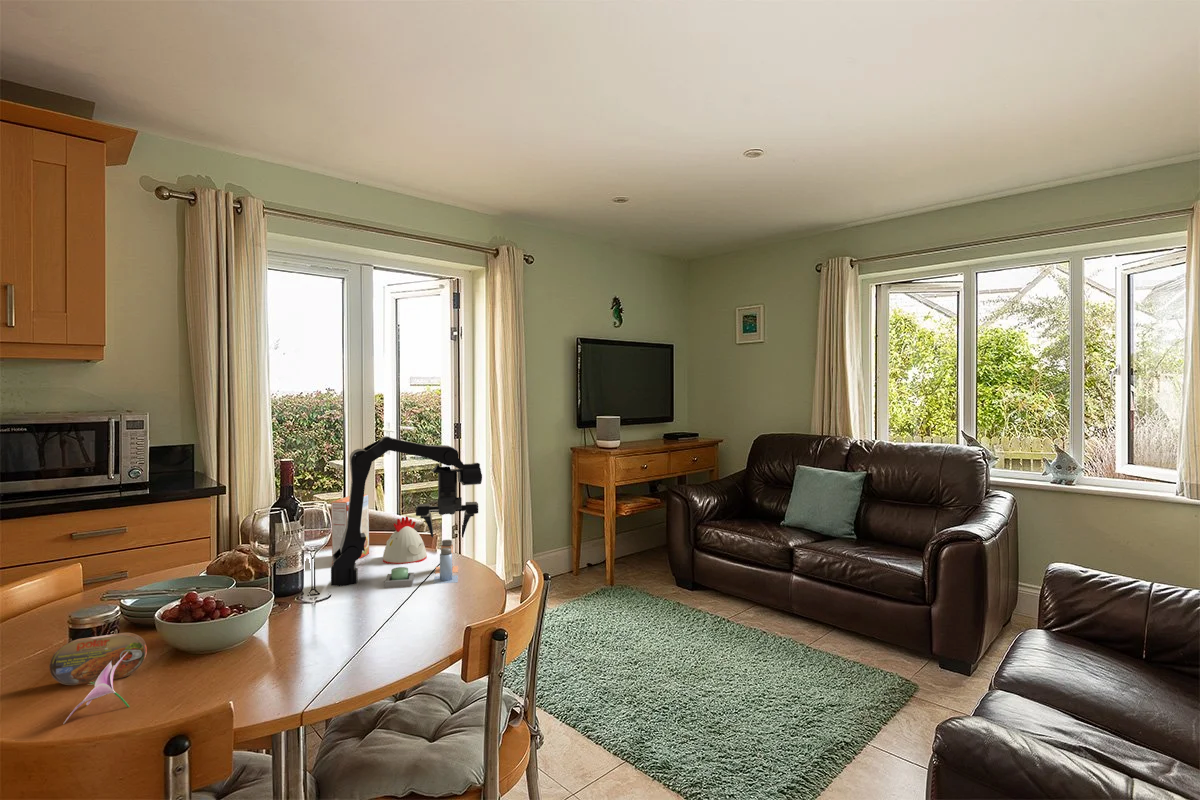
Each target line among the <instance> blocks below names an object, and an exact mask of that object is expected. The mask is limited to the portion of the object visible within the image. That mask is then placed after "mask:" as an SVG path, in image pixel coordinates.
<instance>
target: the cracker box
mask: <svg viewBox="0 0 1200 800" xmlns="http://www.w3.org/2000/svg"><path fill="white" fill-rule="evenodd" d="M349 499H350V495H349V496H345V497H342V498H339V499H336V500H333V501H331V502H330V503H331V504H330V505H331V506H330V507H331V511H330V512H331V556H332V555H333V554H334V553H335V552H336V551H337V550H338V549H339V548H340V544H341V541H342V537H343V534H344V532H345V529H346V526H347V517H348V508H349ZM369 511H370V510H369V494H364V499H363V508H362V517H361V527H360V531H361V533H364V534H365V536H366V540H365V544H364V549H365V551H363V550H362V555H361V557H360V558H359V559H361V558H364V557H365V556H367V555H368V554H370V527H369V526H370V521H369V519H370V517H369ZM359 559H358V560H359ZM331 563H332V565H333V559H332V558H331Z"/></svg>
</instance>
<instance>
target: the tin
mask: <svg viewBox="0 0 1200 800" xmlns="http://www.w3.org/2000/svg"><path fill="white" fill-rule="evenodd" d="M146 643H147V642H146V641H145V640H144V638H143V637H141V636H140V635H138V634H137V633H132V632H119V633H113V634H106V635H99V636H91V637H84V638H82V637H81V638H77V639H74V640H71V641H70V642H68V643H66V644H65V645H63V646H60V648H59V649H57V650H56V651H55V652H54V654H53V655H52V657H51V658H50V662H49V673H50V676H52V677H51V678H53V680H55V681H56V682H58V683H59V684H62V685H66V686H77V685H84V684H90V683H89V682H92V683H95V682H96V680H97V678H98V676H99V675H100V674H101V672H102V671H103V670H104V669H105V667H106V666H107V665H108V664H109V663H110V662H111V664H112V667H113V666H114V665H116V663H117V662H118V661H119V660H120V659H121V658H122V657H123V656H124V655H125V654H126V653H127V652H128V653H127V654H126V655H125V656H124V657H123V659H122V660H121V661H120V663H119V664H118V666H117V667H116V669H115V671H114V675H113V680H116V679H123V678H126V677H128V676H130V675H132V674H134V673H135V672H136V671H137V670H138V669H139V668H140V667H141V666H142V665H143V663H144V661H145V659H146V656H147V652H148V647H147V644H146ZM92 680H93V681H94V682H93V681H92Z"/></svg>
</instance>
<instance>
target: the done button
mask: <svg viewBox="0 0 1200 800" xmlns="http://www.w3.org/2000/svg"><path fill="white" fill-rule="evenodd" d="M408 573H409V568H408V567H405V566H403V567H402V566H399V567H394V568H392V569H391V571H390V574H391V580H406V579H408Z"/></svg>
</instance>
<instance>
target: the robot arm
mask: <svg viewBox="0 0 1200 800" xmlns="http://www.w3.org/2000/svg"><path fill="white" fill-rule="evenodd" d="M390 451H391V452H395V453H401V454H406V455H410V456H411V455H413V456H416V457H422V458H426V459H429V460H432V461H434V462H437V463H439V464H442V465H445V466H440V465H439V464H436V465H435V466H434V467H433V468H432V469H431V472H432V473H433V474H437V486H438V487H437V490H438V491H437V505H431V503H418V504H417V505H416V507H415V516H416V517H420V519H423V520H424V521H425V523H426V524H427V528H428V531H429V533H430V534H429V535H430V537H431V538H434V526H433V518H432V517H433V516H432V513H438V514H439V515H441V516H444V515H451V516H452V515H455V514H456V512H464V514H463V520H462V528H461V529H462V530H461V536H462V537H463V536H465V532H466V529H467V525H468V524H469V521H470V519H471V517H474V516H475V514H479V503H478V502H477V501H465V504H462V500H463V499H462V497H458V483H461V485H462V486H472V485H473V486H474V485H481V484H482V481H483V473H482V469H481V464H480V463H479V462H473V463H463V461H462V460H461V459H460V458H459V452H458V450H457V449H456V448H454V447H452V446H450V445H441V444H440V445H439V444H438V445H437V444H436V445H435V444H430V445H428V444H422V443H418V442H413V441H408V440H403V439H398V438H393V437H391V436H386V435H385V436H382V437H381V438H380V439H379V440H376V441H375V442H372V443H371V444H369V445H367V446H366V447H364V448H357V449H354V450H353V451H352V452H351V453H350V455H349V467H350V477H351V482H350V492H349V496H350V499H349V508H348V517H347V526H346V529H345V532H344V534H343V537H342V541H341V544H340V548H339V549H338V550H337V551H336V552H335V553H334V554H333V555H332V554H331V560H332V559H333V564H332V565H331V566H330V586H335V587H347V586H350V585H356V584H357V583H358V581H359V568H357V565H356V564H357V563H356V561H358V560H359V558H360V557H361V555H362V550H363V551H365V549H364V544H365V540H366V536H365V534H364V533H361V531H360V527H361V517H362V508H363V499H364V495H365V490H366V489H365V488H366V482H367V480H368V479H367V478H368V476H369V473H370V469H371V468H372V464H373V462H374V461H375V460H377V459H378V458H380V457H382V456H383V455H384V454H385V453H387V452H390ZM450 466H453V467H455V468H451V467H450ZM360 559H361V558H360Z"/></svg>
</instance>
